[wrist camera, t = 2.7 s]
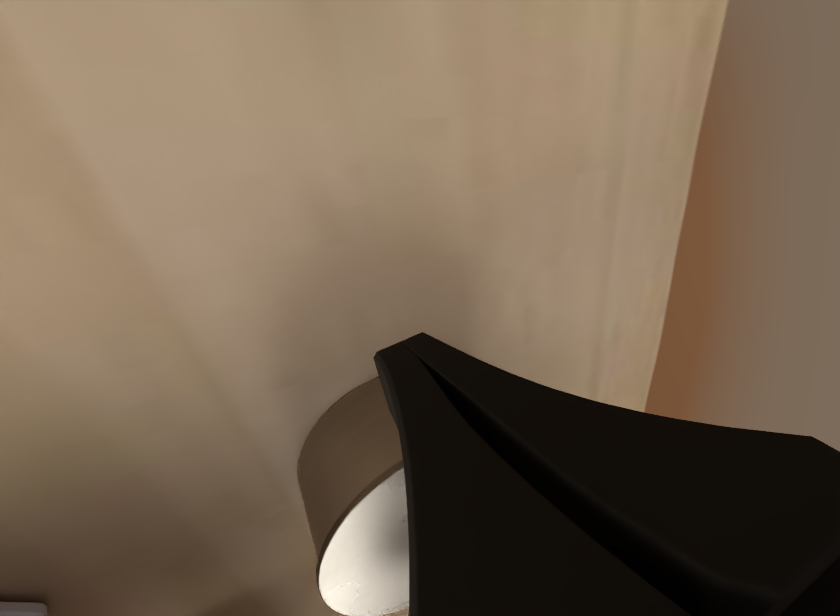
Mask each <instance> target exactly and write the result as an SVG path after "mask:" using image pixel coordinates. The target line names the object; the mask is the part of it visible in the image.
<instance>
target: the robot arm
mask: <svg viewBox="0 0 840 616" xmlns="http://www.w3.org/2000/svg"><path fill="white" fill-rule="evenodd" d="M374 361H375V364H376V368H377V371H378V375H379V378H380V381H381V385H382V388H383V391H384V395H385V398H386V402H387V405H388V408H389V411H390V413H391V415H392V417H393V419H394V422H395V424H396V426H397V429H398V431H399V437H400V443H401V450H402V457H403V466H404V475H405V487H406V499H407V517H408V537H409V616H840V452H839V451H837V450H835V449H834V448H832V447H830V446H828V445H827V444H825V443H823V442H821V441H819V440H817V439H816V438H814V437H811V436H801V435H793V434H783V433H774V432H767V431H758V430H748V429H740V428H731V427H724V426H717V425H711V424H705V423H698V422H693V421H686V420H680V419H674V418H669V417H663V416H659V415H653V414H648V413H644V412H639V411H635V410H630V409H626V408H622V407H617V406H613V405H608V404H605V403H601V402H597V401H593V400H589V399H586V398H582V397H579V396H576V395H572V394H569V393H566V392H562V391H559V390H556V389H553V388H550V387H547V386H544V385H541V384H538V383H535V382H532V381H530V380H527V379H524V378H522V377H519V376H517V375H514V374H511V373H509V372H506V371H504V370H502V369H499V368H497V367H495V366H492V365H490V364H488V363H486V362H483V361H481V360H479V359H477V358H474V357H472V356H470V355H468V354H466V353H464V352H462V351H460V350H458V349H456V348H454V347H452V346H450V345H447V344H445V343H443V342H441V341H439V340H437V339H435V338H433V337H431V336H429V335H427V334H425V333H423V332H422V333H419V334H417V335H415V336H413V337H410V338H408V339H406V340H403V341H401V342H399V343H396V344H394V345H392V346H389V347H387V348H385V349H382V350H380V351H378V352H376V354H375V356H374ZM47 611H48V608H47V606H46V605H44V604H43V603H33V602H0V616H46V614H47Z"/></svg>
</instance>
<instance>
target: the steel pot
mask: <svg viewBox="0 0 840 616" xmlns="http://www.w3.org/2000/svg"><path fill="white" fill-rule="evenodd" d="M297 473H298V482H299V486H300V490H301V494H302V498H303V502H304V506H305V510H306V514H307V518H308V522H309V527H310V531H311V535H312V539H313V543H314V547H315V551H316V555H317V559H318V562H317V569H316V576H317V584H318V588H319V591H320V595H321V597H322V599H323V600H324V602H325V603H326V604H327V605H328V606H329V607H330V608H331V609H332V610H334V611H336V612H338V613H340V614H343V615H347V616H380V615H385V614H389V613H393V612H396V611H399V610H402V609H405V608H408V607H409V537H408V517H407V499H406V487H405V475H404V466H403V457H402V450H401V443H400V437H399V431H398V429H397V426H396V424H395V422H394V419H393V417H392V415H391V413H390V411H389V408H388V405H387V402H386V398H385V395H384V391H383V388H382V385H381V381H380V378H379V377H378V378H376V379H373V380H371V381H369V382H367V383H365V384H363V385H361V386H359V387H358V388H356V389H354V390H352V391H351V392H350V393H348V394H347V395H345V396H344V397H342V398H341V399H340V400H339V401H338V402H336V403H335V404H334V405H333V406H332V407H331V408H330V409H329V410H328V411H327V412H326V413H325V414H324V415H323V416H322V417H321V418H320V420H319V421H318V422H317V423H316V425H315V426H314V427H313V429H312V430H311V432H310V434H309V435H308V437H307V439H306V441H305V443H304V446H303V448H302V450H301V454H300V458H299V461H298V471H297Z"/></svg>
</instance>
